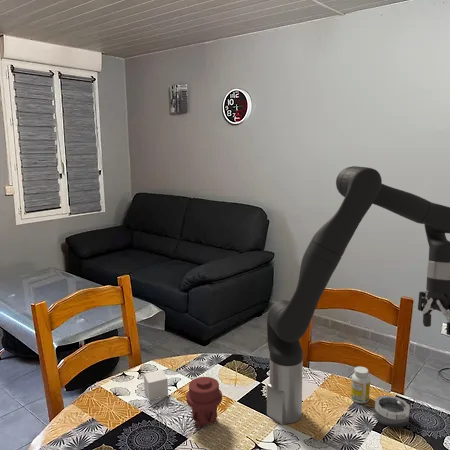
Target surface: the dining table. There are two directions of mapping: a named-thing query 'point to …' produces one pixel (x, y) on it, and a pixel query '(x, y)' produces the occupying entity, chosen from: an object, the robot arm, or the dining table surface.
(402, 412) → the collar
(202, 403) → the mechanical component
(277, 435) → the dining table surface
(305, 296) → the robot arm
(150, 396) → the grey cube
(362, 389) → the supplement bottle
